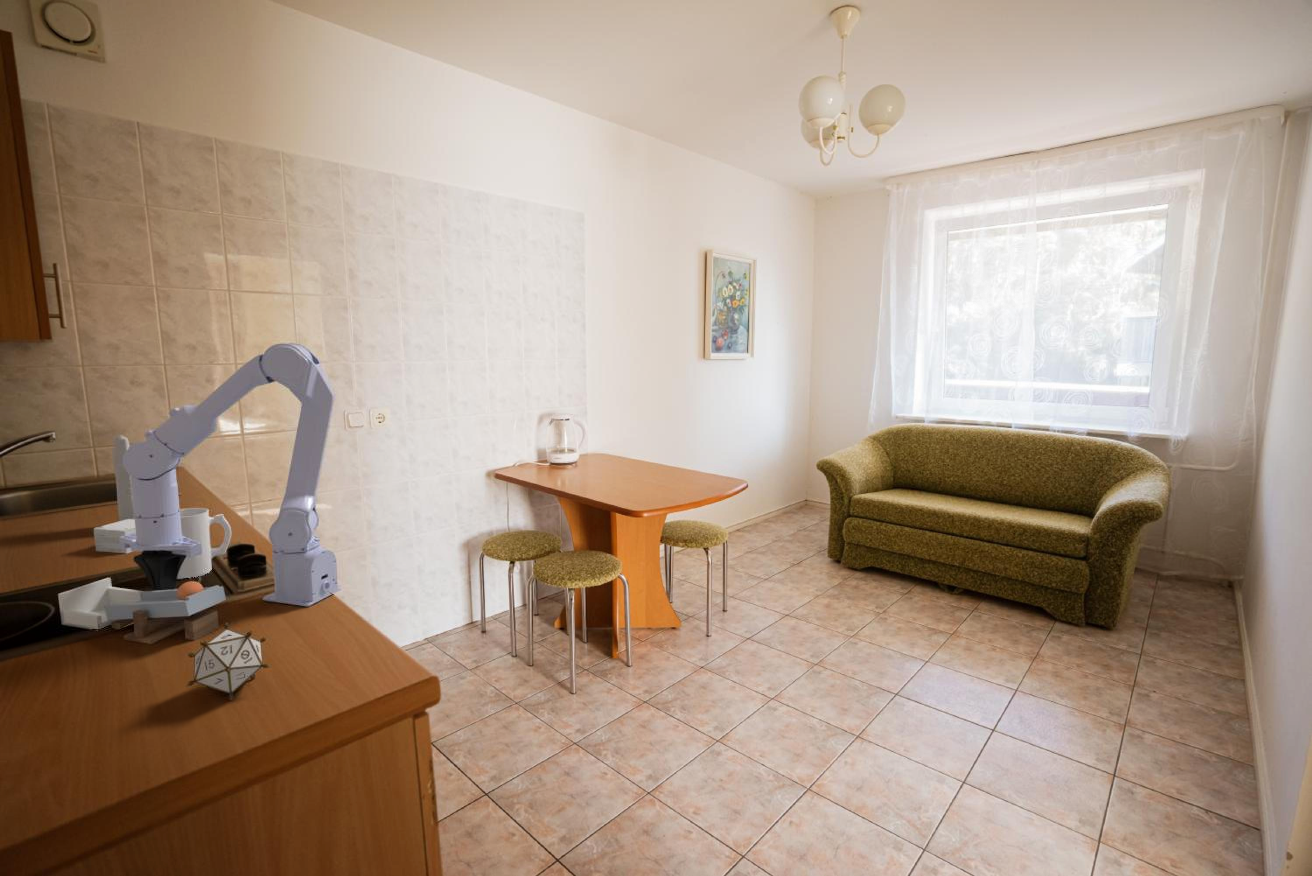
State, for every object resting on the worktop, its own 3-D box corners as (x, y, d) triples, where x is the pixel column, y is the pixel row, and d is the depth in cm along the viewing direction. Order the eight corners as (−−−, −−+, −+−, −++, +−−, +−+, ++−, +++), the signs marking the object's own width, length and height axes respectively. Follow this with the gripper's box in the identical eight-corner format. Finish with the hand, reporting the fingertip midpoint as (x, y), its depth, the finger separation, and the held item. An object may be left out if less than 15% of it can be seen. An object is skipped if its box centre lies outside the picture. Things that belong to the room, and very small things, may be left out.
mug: (168, 582, 111) (162, 519, 110) (169, 571, 117) (163, 511, 115) (235, 571, 118) (230, 511, 116) (233, 561, 123) (228, 504, 121)
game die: (225, 711, 80) (221, 635, 83) (287, 688, 80) (280, 614, 84) (168, 715, 71) (166, 631, 75) (237, 689, 72) (232, 607, 75)
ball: (211, 596, 93) (205, 576, 93) (191, 604, 90) (184, 584, 90) (195, 599, 94) (189, 579, 94) (175, 607, 91) (168, 587, 91)
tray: (146, 611, 99) (142, 582, 99) (98, 630, 93) (94, 599, 92) (111, 606, 101) (107, 577, 100) (61, 624, 94) (58, 594, 94)
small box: (162, 543, 133) (160, 520, 133) (126, 554, 126) (123, 530, 125) (131, 540, 135) (129, 518, 134) (94, 551, 127) (91, 528, 126)
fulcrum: (233, 621, 97) (231, 595, 96) (176, 648, 88) (174, 619, 87) (159, 610, 100) (156, 584, 100) (96, 635, 91) (93, 607, 91)
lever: (248, 590, 98) (245, 574, 98) (188, 616, 89) (184, 599, 88) (172, 594, 102) (169, 580, 102) (107, 620, 93) (103, 603, 92)
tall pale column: (148, 530, 141) (138, 436, 138) (125, 534, 138) (115, 438, 135) (135, 521, 147) (125, 432, 144) (112, 525, 144) (102, 433, 141)
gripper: (95, 515, 96) (104, 597, 98) (168, 524, 93) (175, 608, 94) (141, 505, 103) (149, 581, 104) (211, 512, 99) (217, 591, 101)
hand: (164, 593), depth 100 cm, fingers closed, pressing on lever
